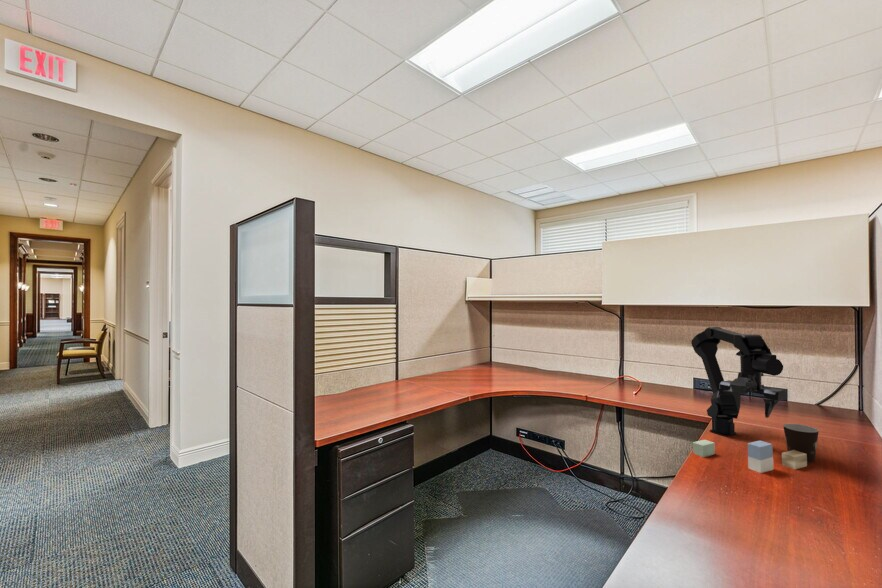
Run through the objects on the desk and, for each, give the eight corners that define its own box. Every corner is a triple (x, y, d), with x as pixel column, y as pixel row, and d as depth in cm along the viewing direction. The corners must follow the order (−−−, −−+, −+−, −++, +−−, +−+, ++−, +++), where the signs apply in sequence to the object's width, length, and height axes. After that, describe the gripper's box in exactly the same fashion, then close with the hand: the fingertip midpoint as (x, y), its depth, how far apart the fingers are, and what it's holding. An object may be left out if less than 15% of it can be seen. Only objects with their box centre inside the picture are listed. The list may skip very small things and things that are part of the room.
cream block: (748, 468, 123) (747, 455, 123) (761, 465, 125) (760, 452, 125) (760, 473, 119) (760, 460, 119) (773, 469, 121) (773, 456, 121)
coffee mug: (807, 465, 124) (806, 433, 124) (777, 454, 132) (776, 425, 132) (832, 460, 127) (831, 429, 127) (802, 450, 135) (801, 421, 135)
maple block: (782, 465, 124) (781, 452, 125) (793, 462, 127) (793, 449, 127) (795, 469, 121) (794, 457, 121) (807, 466, 123) (806, 453, 123)
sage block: (693, 453, 135) (692, 442, 135) (704, 450, 137) (704, 439, 137) (703, 457, 132) (702, 445, 132) (714, 454, 134) (714, 442, 134)
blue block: (747, 456, 123) (747, 443, 123) (760, 452, 125) (759, 440, 125) (760, 460, 119) (760, 447, 119) (772, 456, 121) (772, 444, 122)
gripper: (709, 367, 144) (710, 410, 144) (767, 377, 127) (768, 425, 127) (728, 365, 148) (729, 406, 148) (787, 373, 131) (788, 420, 131)
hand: (752, 414), depth 138 cm, fingers open, 9 cm apart
